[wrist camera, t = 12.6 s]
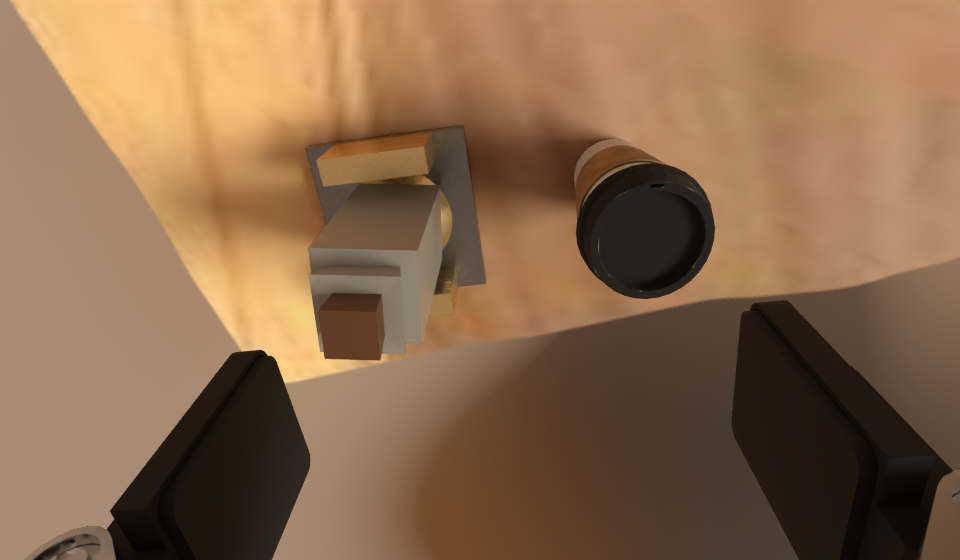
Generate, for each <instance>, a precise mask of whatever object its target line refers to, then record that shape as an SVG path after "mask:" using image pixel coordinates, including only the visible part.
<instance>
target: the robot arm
mask: <svg viewBox="0 0 960 560" xmlns="http://www.w3.org/2000/svg"><path fill="white" fill-rule="evenodd" d="M732 429H733V434H734V437H735V439H736V441H737V443H738V445H739V447H740V448H741V451H742V453H743V454H744V456H745V458H746V460H747V462H748V464H749V466H750V468H751V470H752V472H753V473H754V475H755V477H756V479H757V481H758V483H759V485H760V487H761V489H762V490H763V492H764V494H765V496H766V498H767V500H768V502H769V504H770V506H771V507H772V509H773V511H774V513H775V515H776V517H777V519H778V520H779V523H780V524H781V526H782V528H783V530H784V532H785V534H786V535H787V538H788V539H789V541H790V543H791V545H792V547H793V549H794V551H795V552H796V555H797V556H798V558H799V560H960V470H958V471H953V470H952V469H951V468H950V467H949V466H948V465H947V464H946V463H945V462H944V461H943V460H942V459H941V458H940V457H939V456H938V455H937V454H936V452H935V451H934V450H933V449H932V448H931V447H930V446H929V445H928V444H927V443H926V442H925V441H924V440H923V439H922V438H921V437H920V436H919V435H918V434H917V433H916V432H915V431H914V430H913V428H912V427H911V426H910V425H909V424H908V423H907V422H906V421H905V420H904V419H903V418H902V417H901V416H900V415H899V414H898V413H897V412H896V411H895V410H894V409H893V408H892V407H891V406H890V404H889V403H887V401H886V400H885V399H884V398H883V397H882V396H881V395H880V394H879V393H878V392H877V391H876V390H875V389H874V388H873V387H872V386H871V385H870V384H869V383H868V382H867V381H866V380H865V379H864V377H863V376H862V375H861V374H860V373H859V372H858V371H857V370H855V369H854V368H853V367H852V366H850V365H848V364H847V362H846V361H845V360H844V359H843V358H842V357H841V356H840V355H839V354H838V353H837V352H836V351H835V350H834V349H833V348H832V347H831V345H830V344H829V343H828V342H827V341H826V340H825V339H824V338H823V337H822V336H821V335H820V334H819V333H818V332H817V331H816V330H815V329H814V328H813V327H812V326H811V324H810V323H808V321H807V320H806V319H805V318H804V317H803V316H802V315H801V314H800V313H799V312H798V311H797V310H796V309H795V308H794V307H793V306H792V305H791V303H789V302H788V301H785V300H782V301H772V302H761V303H754V304H753V305H752V306H751V308H750V311H746V312H743V313H742V315H741V321H740V333H739V343H738V355H737V366H736V377H735V388H734V399H733V411H732ZM309 467H310V453H309V450H308V447H307V445H306V442H305V439H304V436H303V434H302V431H301V428H300V425H299V423H298V420H297V417H296V414H295V412H294V409H293V406H292V403H291V400H290V398H289V395H288V392H287V389H286V387H285V384H284V381H283V378H282V376H281V373H280V370H279V367H278V365H277V362H276V360H275V359H274V357H272V356H268V355H267V354H266V353H265V352H264V351H262V350H255V351H244V352H236V353H233V354H231V355H230V356H229V358H228V359H227V360H226V362H225V363H224V364H223V366H222V367H221V368H220V369H219V371H218V372H217V373H216V375H215V376H214V377H213V378H212V380H211V381H210V382H209V384H208V385H207V386H206V387H205V389H204V390H203V391H202V393H201V394H200V396H198V398H197V399H196V400H195V402H194V403H193V404H192V405H191V407H190V408H189V410H188V411H187V412H186V413H185V415H184V416H183V417H182V419H181V420H180V421H179V422H178V424H177V425H176V426H175V428H174V429H173V430H172V431H171V433H170V434H169V435H168V437H167V438H166V439H165V441H164V442H163V443H162V444H161V446H160V447H159V448H158V450H157V451H156V452H155V453H154V455H153V456H152V457H151V458H150V460H149V461H148V462H147V464H146V465H145V466H144V468H143V469H142V470H141V471H140V473H139V474H138V475H137V477H136V478H135V479H134V481H133V482H132V483H131V484H130V486H129V487H128V488H127V490H126V491H125V492H124V493H123V495H122V496H121V497H120V499H119V500H118V501H117V502H116V504H115V505H114V506H113V508H112V509H111V510H110V512H111V514H112V515H113V517H114V520H113V522H112V523H111V524H110V526H109V527H108V528H107V530H106V529H104V528H102V527H100V526H86V527H82V528H77V529H74V530H71V531H68V532H66V533H64V534H62V535H59V536H57V537H55V538H54V539H52V540H50V541H49V542H47V543H45V544H43V545H42V546H40V547H39V548H38V549H37V550H35V551H34V552H33V553H32V554H30V555H29V556H28V557H27V558H25V559H24V560H272V558H273V555H274V553H275V550H276V548H277V545H278V543H279V541H280V538H281V536H282V534H283V531H284V529H285V526H286V524H287V522H288V519H289V517H290V514H291V512H292V510H293V507H294V505H295V502H296V500H297V497H298V495H299V493H300V490H301V488H302V486H303V483H304V481H305V478H306V476H307V473H308V471H309Z"/></svg>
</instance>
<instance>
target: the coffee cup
mask: <svg viewBox="0 0 960 560" xmlns="http://www.w3.org/2000/svg"><path fill="white" fill-rule="evenodd" d="M574 183H575V194H576V209H577V228H576V237H577V245H578V248H579V251H580V254H581V256H582V258H583V259H584V261H585V263H586V264H587V266H588V268H589V269H590V270H591V271H592V272H593V274H594V275H595V276H596V277H597V278H598V279H600V280H601V281H603V282H604V283H605V284H606V285H607V286H608V287H610V288H611V289H612V290H614V291H615V292H618V293H620V294H622V295H624V296H628V297H632V298H640V299H650V298H657V297H661V296H664V295H667V294H670V293H672V292H674V291H676V290H678V289H680V288H682V287H683V286H684V285H686V284H687V283H688V282H690V281H691V280H692V279H693V278H694V277H695V276H696V275H697V274H698V273H699V271H700V270H701V269H702V267H703V266H704V264H705V263H706V261H707V259H708V256H709V254H710V252H711V249H712V245H713V242H714V233H715V226H714V219H713V214H712V209H711V204H710V202H709V200H708V198H707V195H706V193H705V192H704V190H703V189H702V187H701V186H700V185H699V184H698V182H697V181H696V180H695V179H694V178H692V177H691V176H690V175H688V174H687V173H686V172H684V171H682V170H679V169H677V168H675V167H672V166H669V165H667V164H665V163H663V162H662V161H660V160H658V159H656V158H655V157H653V156H651V155H649V154H648V153H646V152H644V151H642V150H640V149H638V148H637V147H635V146H634V145H632V144H630V143H628V142H626V141H623V140H619V139H607V140H602V141H600V142H597V143H595V144H593V145H592V146H590V147H589V148H588V149H587V150H585V151H584V153H583V154H582V155H581V156H580V158H579V160H578V162H577V164H576V167H575V172H574Z"/></svg>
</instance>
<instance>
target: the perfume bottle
mask: <svg viewBox="0 0 960 560" xmlns="http://www.w3.org/2000/svg"><path fill="white" fill-rule="evenodd" d="M308 251H309V258H310V265H311V272H312V273H311V274H309V279H310V286H311V293H312V299H313V306H314V313H315V320H316V327H317V333H318V340H319V347H320V352H324V357H325V359H350V360H380V359H381V354H406V348H405V343H417V344H422V341H423V337H424V333H425V329H426V324H427V320H428V316H429V312H430V308H431V304H432V299H433V295H434V291H435V287H436V283H437V279H438V274H439V270H440V266H441V262H442V231H441V191H440V185H415V184H365V183H359V185H358V186H357V187H356V189H355V190H354V191H353V192H352V194H351V195H350V196H349V197H348V199H347V200H346V201H345V202H344V204H343V205H342V206H341V207H340V209H339V210H338V211H337V212H336V214H335V215H334V216H333V217H332V219H331V220H330V221H329V222H328V224H327V225H326V226H325V228H324V229H323V230H322V231H321V233H320V234H319V235H318V236H317V238H316V239H315V240H314V241H313V243H312V244H311V245H310V246H309V248H308Z"/></svg>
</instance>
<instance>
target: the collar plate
mask: <svg viewBox="0 0 960 560" xmlns="http://www.w3.org/2000/svg"><path fill="white" fill-rule="evenodd" d="M306 152H307V156H308V159H309V163H310V167H311V170H312V174H313V177H314V181H315V185H316V188H317V192H318V195H319V199H320V203H321V206H322V210H323V213H324V217H325V221H326V224H328V222H329V221H330V220H331V219H332V217H333V216H334V215H335V214H336V212H337V211H338V210H339V209H340V207H341V206H342V205H343V204H344V202H345V201H346V200H347V199H348V197H349V196H350V195H351V194H352V192H353V191H354V190H355V189H356V187H357V186H358V185H359V183H365V184H415V185H440V191H441V231H442V262H441V266H440V270H439V274H438V279H437V283H436V287H435V291H434V295H433V299H432V304H431V308H430V312H429V316H428V317H433V316H443V315H453V314H454V311H455V305H456V299H457V292H458V287H459V286H469V285H479V284H486V276H485V269H484V262H483V255H482V248H481V241H480V234H479V228H478V221H477V214H476V207H475V200H474V193H473V186H472V180H471V173H470V166H469V159H468V152H467V145H466V138H465V131H464V125H462V126H455V127H447V128H439V129H432V130H424V131H417V132H409V133H401V134H394V135H386V136H378V137H371V138H363V139H355V140H348V141H340V142H332V143H325V144H317V145H309V146H308V147H307V148H306Z"/></svg>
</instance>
